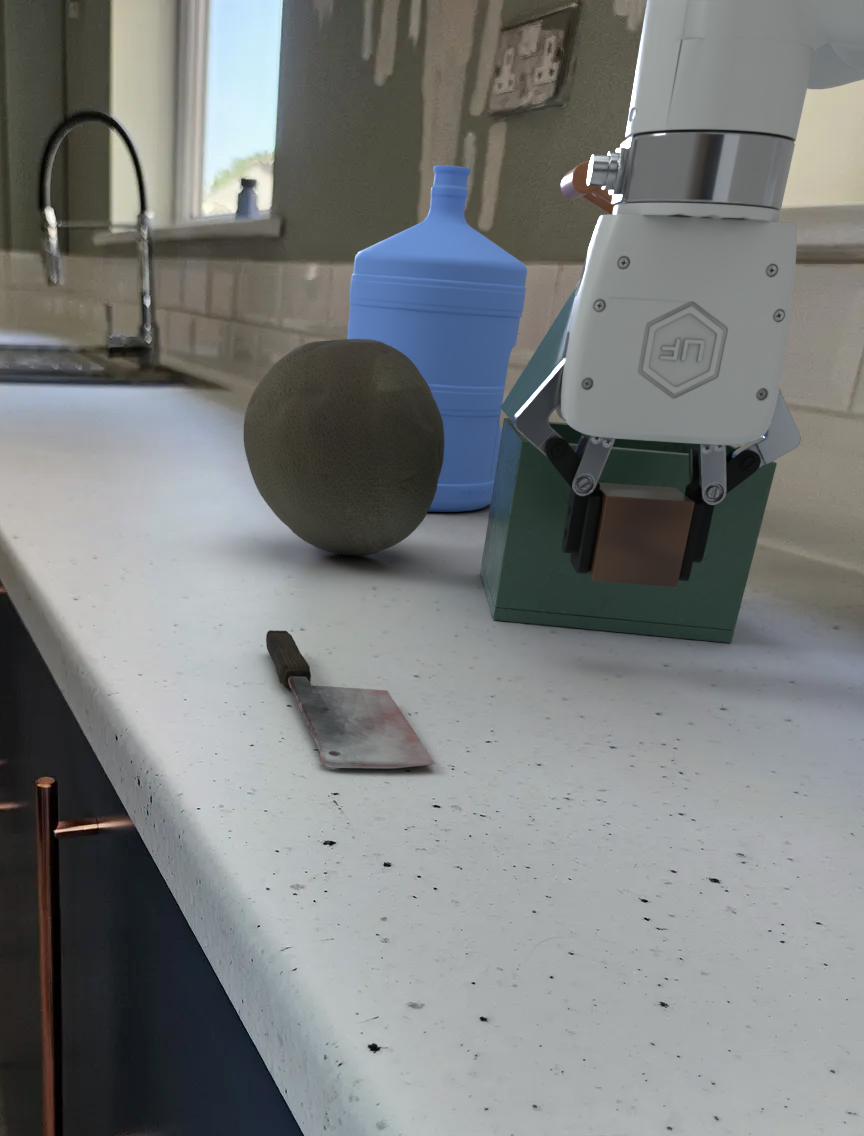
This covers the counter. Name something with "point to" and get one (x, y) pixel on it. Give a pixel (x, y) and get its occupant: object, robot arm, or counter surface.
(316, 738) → the cleaver
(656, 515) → the tea block
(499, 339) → the water jug
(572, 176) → the lid
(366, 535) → the cantaloupe
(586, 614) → the green box
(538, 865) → the counter surface
